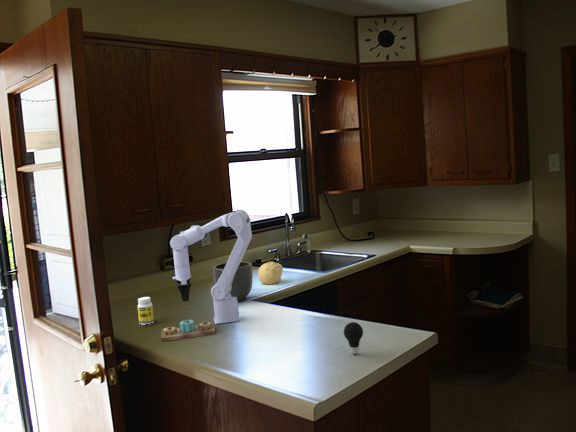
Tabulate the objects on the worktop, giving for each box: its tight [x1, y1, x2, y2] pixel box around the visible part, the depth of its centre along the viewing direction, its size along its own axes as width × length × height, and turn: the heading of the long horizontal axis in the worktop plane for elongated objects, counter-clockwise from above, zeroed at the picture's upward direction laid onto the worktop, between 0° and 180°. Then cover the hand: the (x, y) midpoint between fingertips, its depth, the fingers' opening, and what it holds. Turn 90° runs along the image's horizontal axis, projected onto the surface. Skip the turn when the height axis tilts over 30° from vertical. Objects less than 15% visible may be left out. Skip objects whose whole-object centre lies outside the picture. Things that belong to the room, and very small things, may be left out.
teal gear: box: [178, 319, 196, 333], centre depth 202 cm, size 5×5×3 cm
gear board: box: [160, 319, 216, 342], centre depth 202 cm, size 19×10×5 cm, turn 103°
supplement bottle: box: [137, 296, 155, 326], centre depth 220 cm, size 6×6×10 cm
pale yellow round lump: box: [257, 261, 284, 285], centre depth 273 cm, size 12×12×11 cm
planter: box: [212, 260, 253, 303], centre depth 244 cm, size 17×17×16 cm
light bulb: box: [343, 321, 364, 355], centre depth 167 cm, size 6×6×10 cm
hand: (185, 298), depth 216 cm, fingers open, 7 cm apart
